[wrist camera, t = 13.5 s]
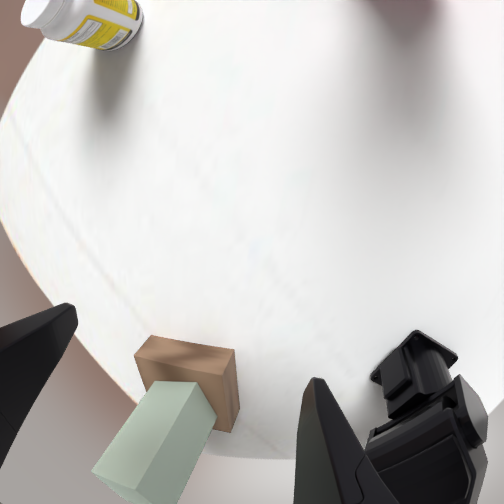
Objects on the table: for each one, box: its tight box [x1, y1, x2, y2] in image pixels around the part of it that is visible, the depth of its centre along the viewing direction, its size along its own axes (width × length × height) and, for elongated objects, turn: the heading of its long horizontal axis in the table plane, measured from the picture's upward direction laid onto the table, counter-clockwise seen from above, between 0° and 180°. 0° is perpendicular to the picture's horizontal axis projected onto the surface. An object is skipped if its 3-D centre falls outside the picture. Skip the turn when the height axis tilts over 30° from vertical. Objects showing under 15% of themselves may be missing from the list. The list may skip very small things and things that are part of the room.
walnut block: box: [134, 335, 240, 433], centre depth 28 cm, size 9×9×4 cm
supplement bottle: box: [21, 0, 143, 51], centre depth 14 cm, size 5×5×10 cm
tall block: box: [91, 381, 218, 504], centre depth 21 cm, size 5×5×12 cm
